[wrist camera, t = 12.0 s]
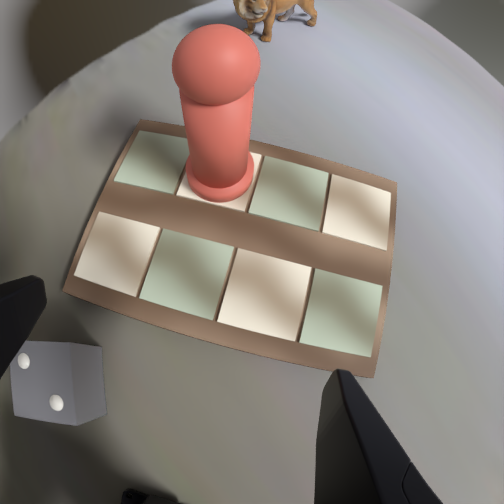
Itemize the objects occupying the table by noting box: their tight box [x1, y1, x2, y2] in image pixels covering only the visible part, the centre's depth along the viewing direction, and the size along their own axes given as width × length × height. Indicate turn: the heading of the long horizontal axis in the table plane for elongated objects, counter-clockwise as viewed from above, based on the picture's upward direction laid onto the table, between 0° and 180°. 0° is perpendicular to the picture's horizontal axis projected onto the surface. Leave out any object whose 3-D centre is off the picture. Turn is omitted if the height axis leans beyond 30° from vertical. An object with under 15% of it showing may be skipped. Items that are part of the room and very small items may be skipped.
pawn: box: [172, 24, 260, 203], centre depth 18 cm, size 5×5×13 cm
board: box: [62, 119, 397, 378], centre depth 23 cm, size 16×23×1 cm
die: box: [10, 341, 107, 426], centre depth 17 cm, size 5×5×5 cm
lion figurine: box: [233, 0, 317, 42], centre depth 29 cm, size 15×5×9 cm, turn 139°
